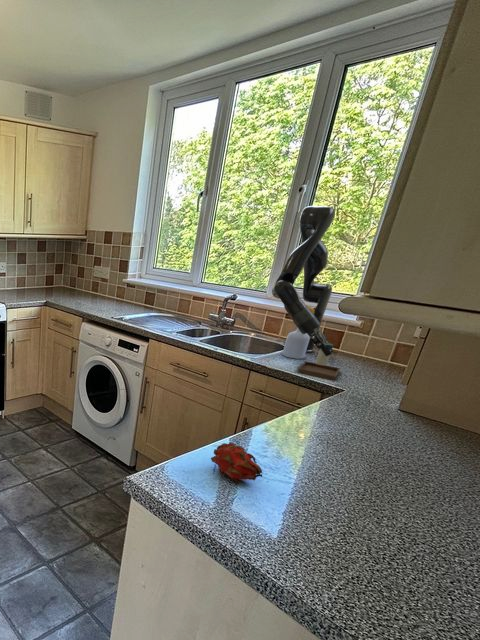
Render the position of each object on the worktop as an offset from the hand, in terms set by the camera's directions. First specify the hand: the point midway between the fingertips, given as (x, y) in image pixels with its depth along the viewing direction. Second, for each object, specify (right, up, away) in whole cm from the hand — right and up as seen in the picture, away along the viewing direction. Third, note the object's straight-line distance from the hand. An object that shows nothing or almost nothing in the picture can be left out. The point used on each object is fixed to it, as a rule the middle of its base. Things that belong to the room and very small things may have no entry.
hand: (329, 353), depth 171 cm
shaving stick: (-2, -4, +3) cm, 5 cm away
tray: (-2, -8, +4) cm, 9 cm away
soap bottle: (+1, +1, +26) cm, 26 cm away
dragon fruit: (-77, -35, -74) cm, 112 cm away
